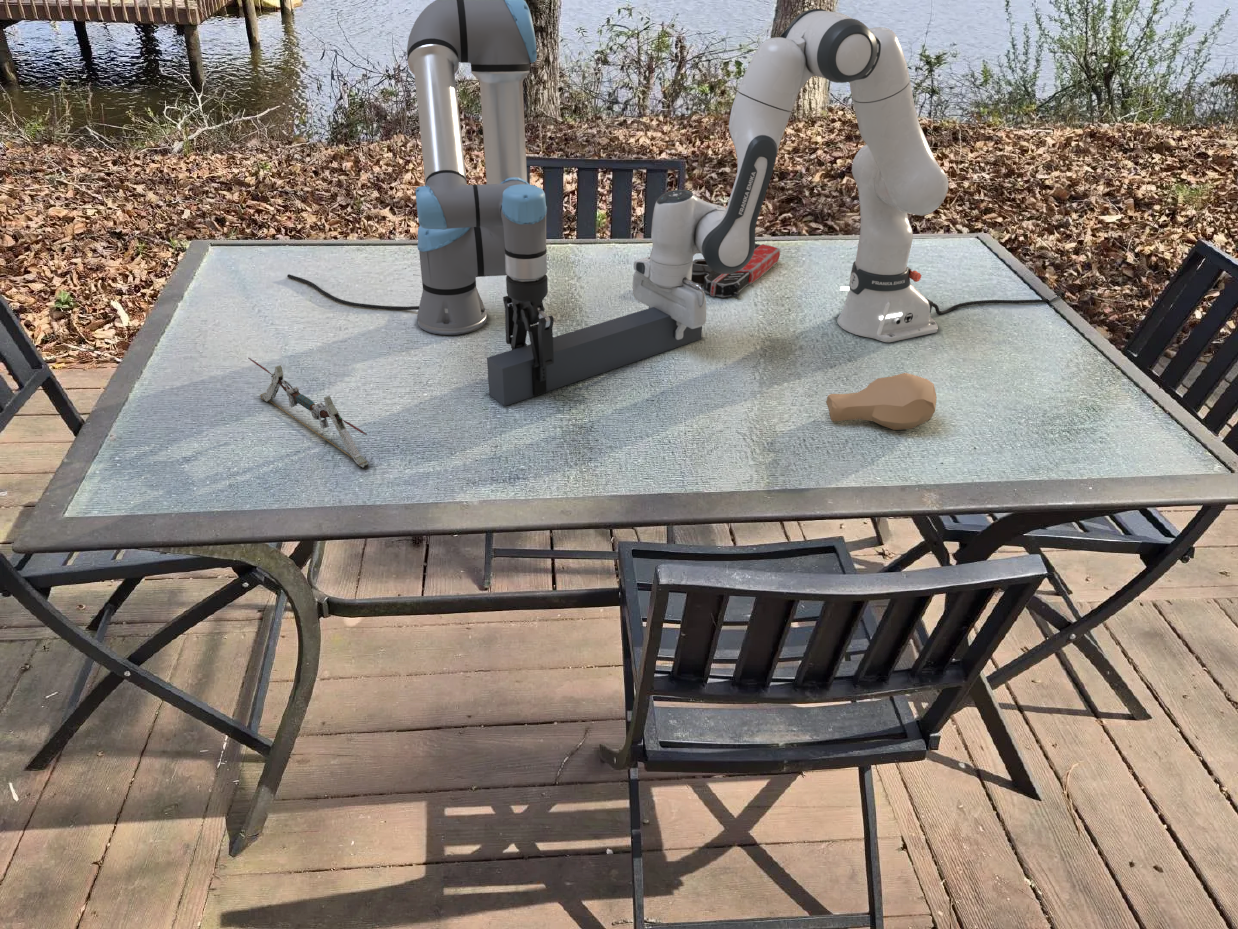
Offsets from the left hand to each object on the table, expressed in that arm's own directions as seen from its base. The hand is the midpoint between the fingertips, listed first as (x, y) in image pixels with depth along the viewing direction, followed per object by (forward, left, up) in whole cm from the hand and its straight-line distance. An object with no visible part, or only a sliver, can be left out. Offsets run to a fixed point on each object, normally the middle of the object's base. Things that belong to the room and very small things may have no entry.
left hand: (530, 386), depth 172 cm
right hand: (+4, +35, +2) cm, 35 cm away
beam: (+2, +18, -1) cm, 18 cm away
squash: (+53, +41, -1) cm, 67 cm away
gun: (-14, +76, -1) cm, 77 cm away
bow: (-14, -39, -1) cm, 41 cm away
